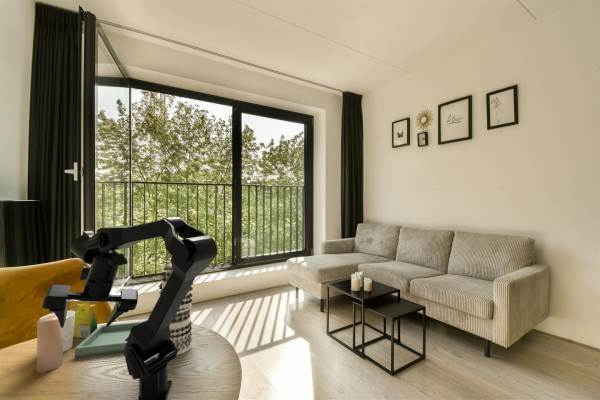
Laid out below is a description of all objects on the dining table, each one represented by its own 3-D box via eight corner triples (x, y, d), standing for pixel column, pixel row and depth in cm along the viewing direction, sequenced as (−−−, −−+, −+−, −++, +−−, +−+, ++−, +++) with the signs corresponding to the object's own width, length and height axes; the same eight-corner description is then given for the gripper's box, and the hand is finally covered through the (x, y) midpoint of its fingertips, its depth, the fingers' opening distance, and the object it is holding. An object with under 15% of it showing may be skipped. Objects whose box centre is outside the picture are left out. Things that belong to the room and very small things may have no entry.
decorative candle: (178, 358, 75) (178, 267, 75) (151, 354, 77) (151, 266, 78) (199, 342, 84) (199, 261, 84) (174, 338, 86) (174, 259, 86)
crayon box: (97, 334, 89) (98, 298, 90) (89, 338, 86) (89, 302, 87) (78, 332, 91) (78, 297, 91) (69, 337, 88) (70, 300, 88)
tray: (134, 350, 79) (135, 341, 79) (74, 357, 75) (75, 348, 76) (150, 328, 94) (150, 320, 94) (100, 333, 90) (100, 325, 90)
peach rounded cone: (55, 370, 70) (55, 321, 70) (31, 373, 69) (32, 323, 69) (66, 359, 75) (67, 314, 75) (44, 362, 73) (45, 316, 74)
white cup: (53, 358, 75) (54, 322, 76) (31, 355, 77) (32, 320, 77) (81, 344, 83) (82, 311, 83) (61, 341, 85) (61, 309, 85)
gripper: (144, 261, 79) (128, 306, 81) (62, 252, 69) (46, 305, 71) (145, 283, 70) (126, 333, 72) (50, 276, 59) (32, 336, 62)
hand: (85, 326), depth 69 cm, fingers open, 9 cm apart
